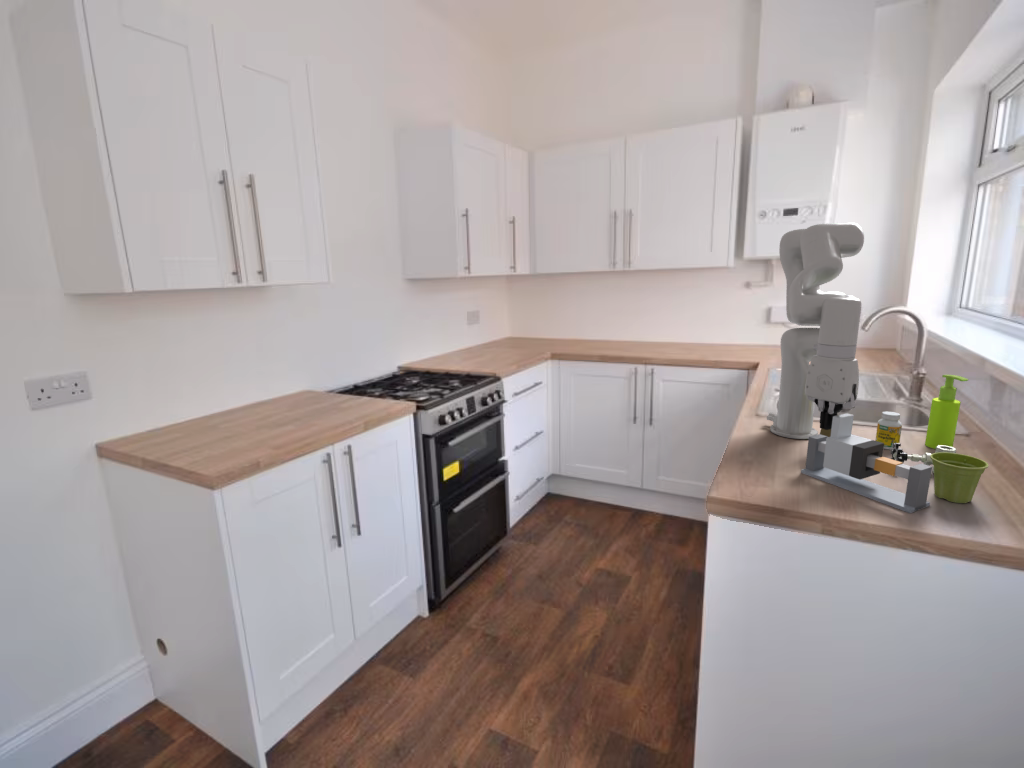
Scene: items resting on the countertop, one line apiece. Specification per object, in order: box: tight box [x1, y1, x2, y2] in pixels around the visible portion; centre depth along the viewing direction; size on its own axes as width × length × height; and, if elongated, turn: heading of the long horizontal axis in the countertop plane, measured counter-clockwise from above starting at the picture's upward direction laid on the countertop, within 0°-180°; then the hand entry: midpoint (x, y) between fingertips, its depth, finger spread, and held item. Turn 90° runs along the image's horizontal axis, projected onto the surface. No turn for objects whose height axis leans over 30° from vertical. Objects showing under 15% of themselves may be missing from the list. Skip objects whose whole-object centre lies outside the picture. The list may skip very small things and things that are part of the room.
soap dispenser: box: [924, 374, 969, 450], centre depth 138 cm, size 6×7×20 cm
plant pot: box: [930, 452, 989, 504], centre depth 110 cm, size 9×9×9 cm
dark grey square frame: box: [849, 439, 884, 480], centre depth 115 cm, size 2×7×7 cm, turn 115°
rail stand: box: [800, 433, 933, 514], centre depth 116 cm, size 24×7×9 cm, turn 25°
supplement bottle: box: [874, 411, 903, 451], centre depth 141 cm, size 5×5×10 cm
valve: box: [890, 443, 957, 474], centre depth 124 cm, size 7×7×12 cm
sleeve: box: [823, 412, 872, 476], centre depth 118 cm, size 6×7×12 cm
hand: (827, 428), depth 122 cm, fingers closed
